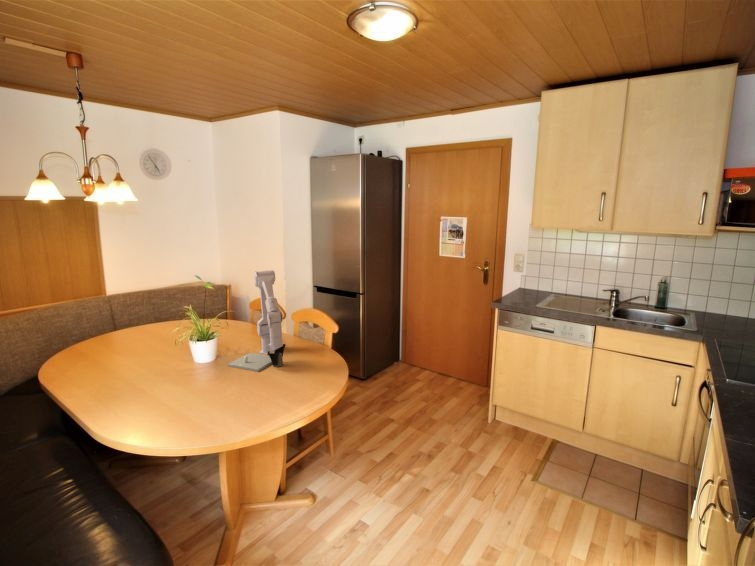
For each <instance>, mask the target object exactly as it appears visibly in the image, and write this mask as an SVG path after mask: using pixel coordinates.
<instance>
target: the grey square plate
mask: <svg viewBox="0 0 755 566" xmlns="http://www.w3.org/2000/svg"><path fill="white" fill-rule="evenodd" d="M271 365H273V364H272V361H271V359H270V357H269V355H267V354H261V353H252V352H248V353H247V354H244V355H242V356H241V357H239V358H236V359H235V360H233V361H231V362H229V363H228V364H227V367H230V368H234V369H239V370H240V369H241V370H245V371H251V372H255V373H256V372H257V373H259V372H261V371H263V370H264V369H266V368H267V367H269V366H271Z"/></svg>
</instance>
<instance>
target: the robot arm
mask: <svg viewBox="0 0 755 566" xmlns="http://www.w3.org/2000/svg"><path fill="white" fill-rule="evenodd" d="M253 279H254V280H253V283H254V286H255V287H256V288H258V289H259V296H260V308H261V318H260V319H259V320H258V321H257V323H256V325H257V326H256V331H257V335H258V337H260V342H261V344H260V345H261V350H259V351H258V353H257V354H261V355H267V356H269V357H270V359H271V361H272V364H271V365H272V366H277V365H278V357H279V353H282V358H283V357H284V351H285V348H286V347H287V346H286V345H287V344H285V343H284V339H283V330H282V323H283V313H282V310H281V309H280V307H279V302H278V299H277V298H276V297H275V296H274V288H273V285H274V284H275V283H276V273H275V270H274V269H271V270H261V271H254V273H253ZM283 359H284V358H283Z"/></svg>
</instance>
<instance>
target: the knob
mask: <svg viewBox="0 0 755 566" xmlns="http://www.w3.org/2000/svg"><path fill="white" fill-rule="evenodd" d="M283 359H284V358H282V353H279V357H278V365H277V366H273V365H272V366H273V367H274V368H280V367H282V366H284V360H283ZM273 367H272V368H273Z"/></svg>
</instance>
